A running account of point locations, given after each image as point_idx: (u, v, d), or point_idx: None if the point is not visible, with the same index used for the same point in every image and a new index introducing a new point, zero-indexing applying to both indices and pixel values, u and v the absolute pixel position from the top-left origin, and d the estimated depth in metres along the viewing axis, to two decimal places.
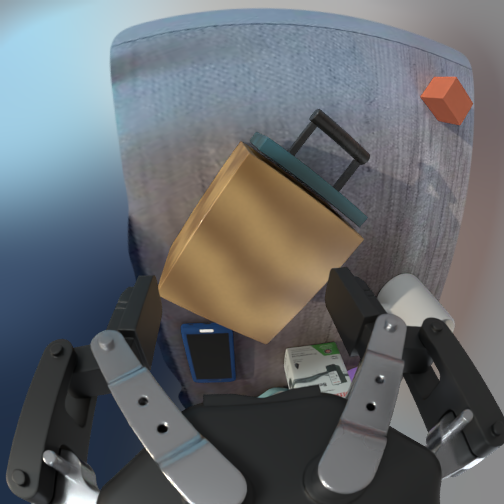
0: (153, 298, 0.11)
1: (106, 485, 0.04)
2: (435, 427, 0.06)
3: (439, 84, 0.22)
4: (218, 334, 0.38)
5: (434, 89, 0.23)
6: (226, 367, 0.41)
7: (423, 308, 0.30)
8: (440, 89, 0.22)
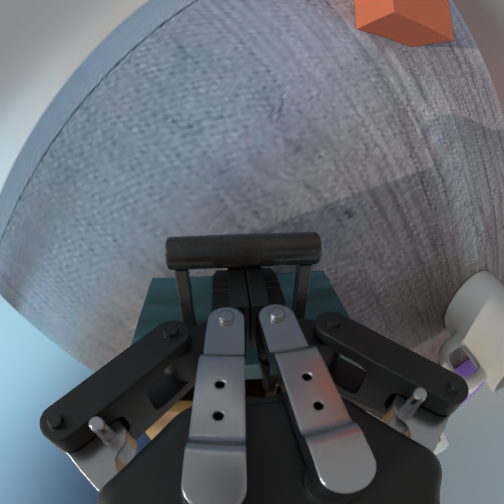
0: None
1: (106, 485, 0.04)
2: (390, 416, 0.06)
3: None
4: None
5: (368, 0, 0.09)
6: None
7: (501, 337, 0.16)
8: None
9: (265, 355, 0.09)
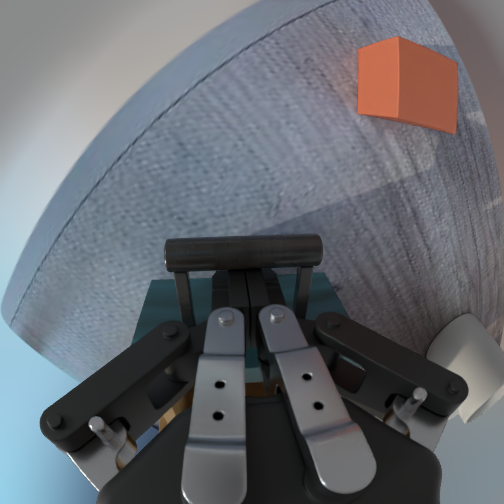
0: None
1: (106, 485, 0.04)
2: (390, 416, 0.06)
3: (375, 70, 0.11)
4: None
5: (373, 86, 0.12)
6: None
7: (474, 380, 0.18)
8: (383, 87, 0.11)
9: (265, 355, 0.09)
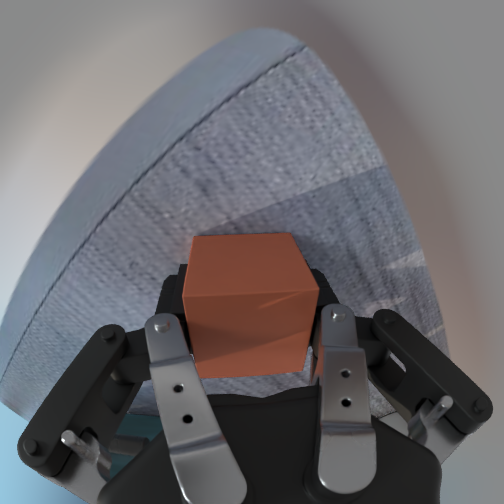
0: None
1: (106, 485, 0.04)
2: (415, 418, 0.06)
3: None
4: None
5: None
6: None
7: None
8: None
9: None
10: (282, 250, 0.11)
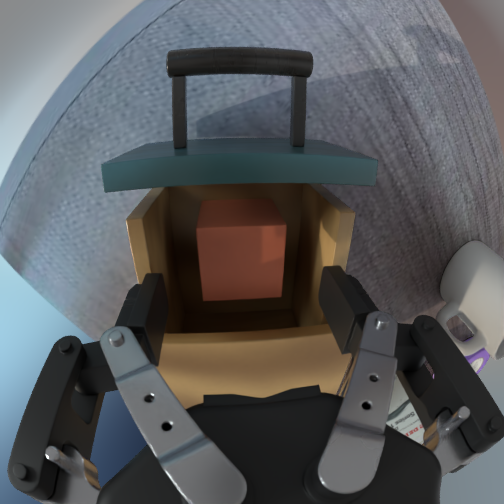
0: (160, 295, 0.11)
1: (106, 485, 0.04)
2: (432, 425, 0.06)
3: None
4: None
5: None
6: None
7: (497, 299, 0.17)
8: None
9: None
10: (264, 207, 0.16)
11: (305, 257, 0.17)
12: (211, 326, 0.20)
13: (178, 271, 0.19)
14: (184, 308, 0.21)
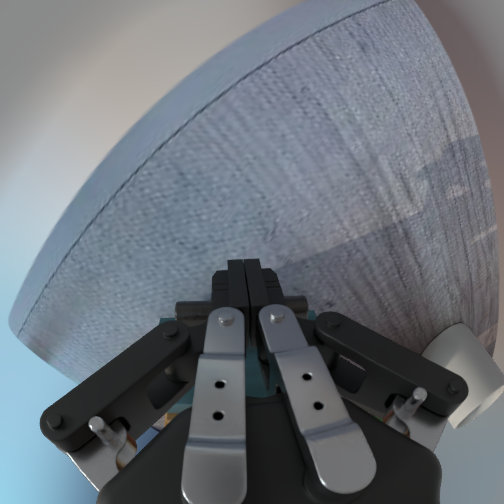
0: None
1: (106, 485, 0.04)
2: (390, 416, 0.06)
3: None
4: None
5: None
6: None
7: None
8: None
9: (265, 355, 0.09)
10: None
11: None
12: None
13: None
14: None
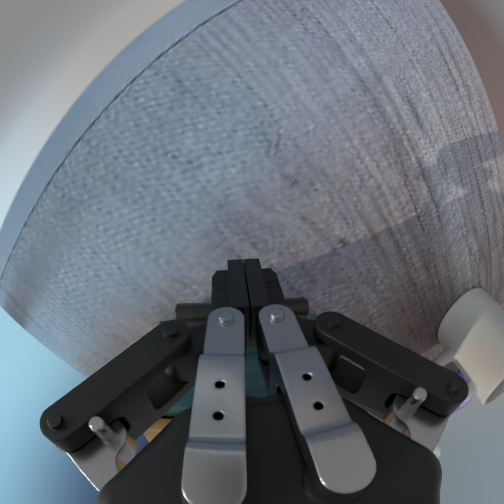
0: None
1: (106, 485, 0.04)
2: (390, 416, 0.06)
3: None
4: None
5: None
6: None
7: (491, 354, 0.17)
8: None
9: (265, 355, 0.09)
10: None
11: None
12: None
13: None
14: None
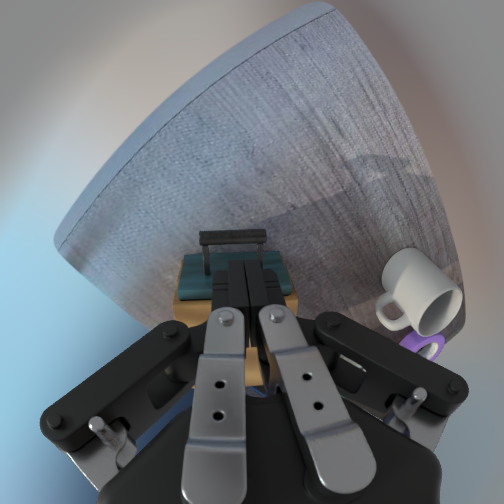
0: None
1: (106, 485, 0.04)
2: (390, 416, 0.06)
3: None
4: None
5: None
6: None
7: (416, 291, 0.30)
8: None
9: (265, 355, 0.09)
10: None
11: None
12: None
13: None
14: None
